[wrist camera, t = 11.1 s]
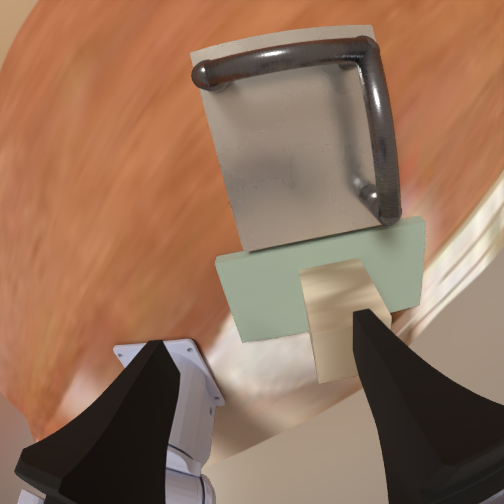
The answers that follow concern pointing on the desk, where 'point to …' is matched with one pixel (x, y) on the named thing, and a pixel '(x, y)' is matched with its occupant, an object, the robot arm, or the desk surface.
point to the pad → (311, 255)
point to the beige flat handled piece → (302, 132)
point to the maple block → (337, 313)
